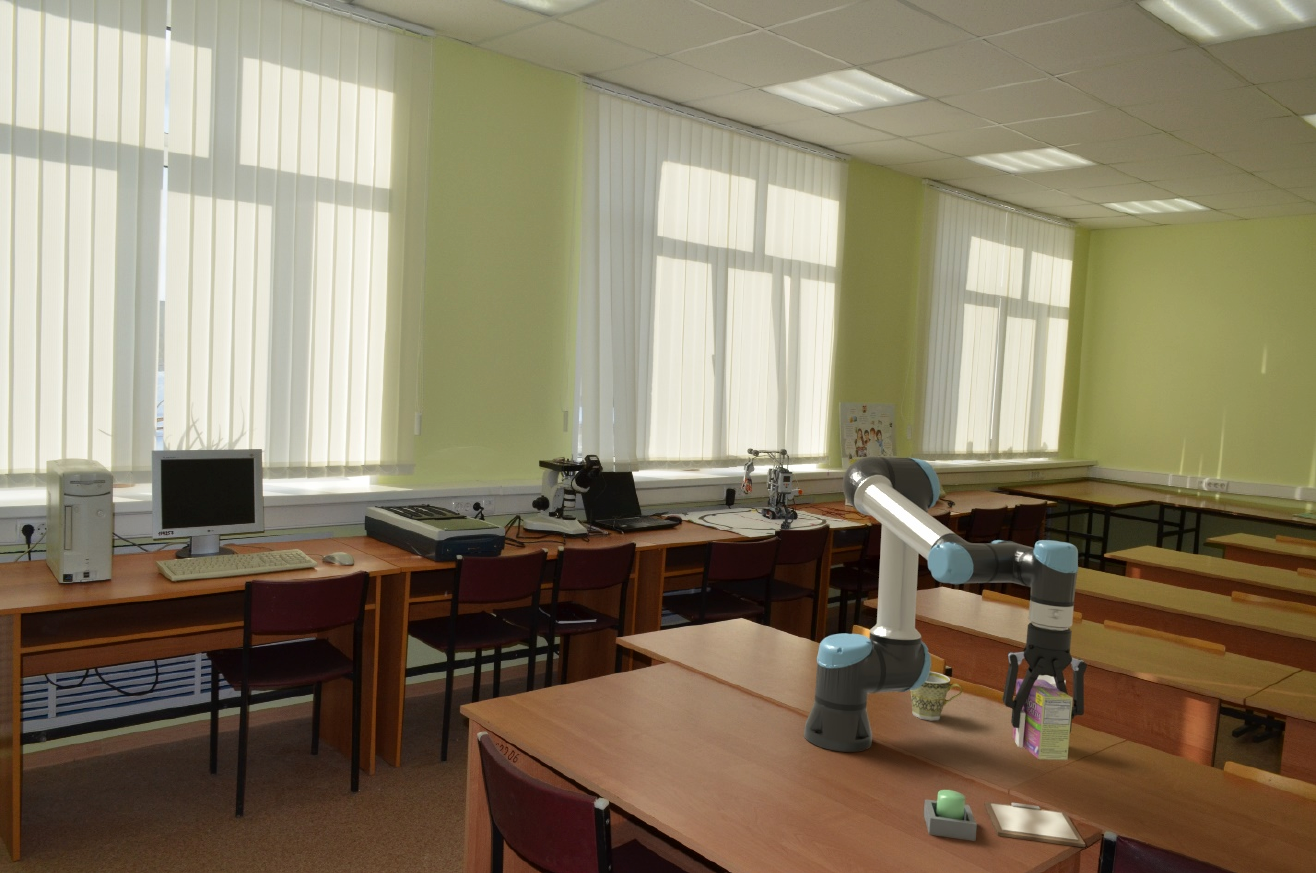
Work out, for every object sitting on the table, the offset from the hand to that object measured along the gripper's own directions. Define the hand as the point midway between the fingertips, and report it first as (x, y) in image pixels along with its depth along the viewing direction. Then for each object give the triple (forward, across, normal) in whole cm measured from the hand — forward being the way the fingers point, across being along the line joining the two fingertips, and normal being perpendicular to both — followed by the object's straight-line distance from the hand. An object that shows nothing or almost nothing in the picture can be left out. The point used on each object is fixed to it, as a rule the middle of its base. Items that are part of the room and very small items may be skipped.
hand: (1039, 747), depth 172 cm
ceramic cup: (+15, -11, +56) cm, 59 cm away
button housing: (+15, -16, -6) cm, 23 cm away
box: (+1, 0, 0) cm, 1 cm away
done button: (+13, -16, -6) cm, 22 cm away
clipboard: (+15, 0, 0) cm, 15 cm away
